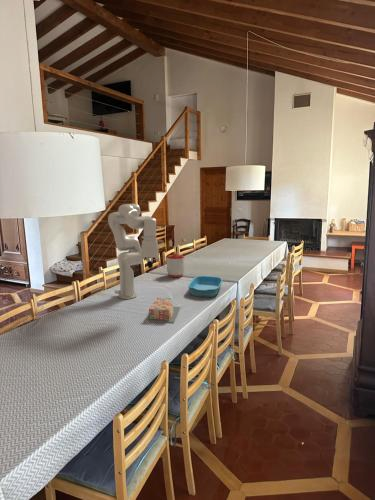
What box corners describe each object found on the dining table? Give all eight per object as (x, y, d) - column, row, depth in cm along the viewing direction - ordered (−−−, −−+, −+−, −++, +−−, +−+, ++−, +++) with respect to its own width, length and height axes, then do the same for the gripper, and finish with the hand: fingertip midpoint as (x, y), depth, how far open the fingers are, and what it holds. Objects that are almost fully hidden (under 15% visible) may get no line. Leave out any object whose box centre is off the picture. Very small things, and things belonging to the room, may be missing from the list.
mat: (149, 321, 207) (149, 321, 207) (158, 306, 233) (158, 305, 233) (173, 323, 206) (173, 322, 206) (180, 307, 231) (180, 306, 231)
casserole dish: (216, 300, 246) (217, 290, 245) (185, 297, 252) (185, 287, 250) (224, 285, 282) (224, 276, 280) (196, 283, 287) (196, 274, 285)
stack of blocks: (156, 297, 230) (175, 298, 228) (156, 306, 231) (175, 307, 229) (148, 309, 209) (169, 310, 207) (149, 319, 210) (169, 320, 208)
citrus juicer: (166, 273, 317) (166, 251, 313) (185, 274, 314) (185, 251, 311) (162, 278, 302) (162, 254, 298) (183, 278, 299) (183, 255, 295)
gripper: (136, 239, 216) (136, 268, 220) (160, 240, 214) (160, 270, 218) (139, 236, 223) (139, 265, 227) (163, 237, 221) (163, 266, 225)
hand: (150, 267), depth 222 cm, fingers closed
